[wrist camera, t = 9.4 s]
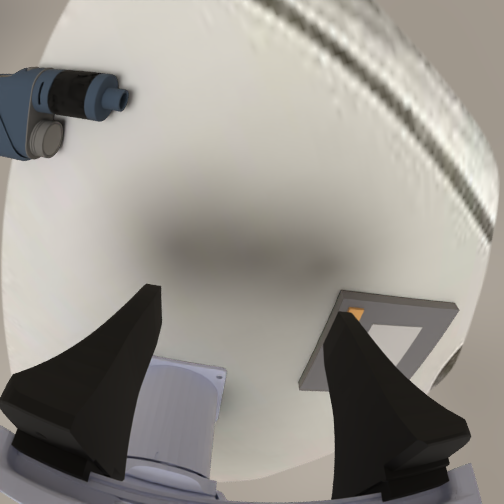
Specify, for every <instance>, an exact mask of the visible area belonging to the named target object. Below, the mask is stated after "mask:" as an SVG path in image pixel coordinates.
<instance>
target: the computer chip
mask: <svg viewBox="0 0 504 504" xmlns="http://www.w3.org/2000/svg"><path fill="white" fill-rule="evenodd" d="M338 311H341V312H351V313H352V314H353V315H354V316H355V317H356V318H357V320H358V321H359V322H360V323H361V325H362V326H363V327H364V329H365V330H366V331H367V332H368V334H369V335H370V336H371V338H372V339H373V340H374V341H375V343H376V344H377V345H378V346H379V348H380V349H381V350H382V351H383V353H384V354H385V355H386V356H387V357H388V358H389V359H390V361H391V362H392V363H393V364H394V365H395V366H396V367H397V368H398V369H399V370H400V371H401V372H402V373H403V374H404V375H405V376H406V377H407V378H408V379H410V378H411V377H412V376H413V375H414V373H415V372H416V371H417V370H418V368H419V367H420V366H421V364H422V363H423V362H424V360H425V359H426V358H427V357H428V355H429V354H430V353H431V351H432V350H433V348H434V347H435V346H436V344H437V343H438V341H439V340H440V339H441V337H442V336H443V334H444V333H445V331H446V330H447V328H448V327H449V325H450V324H451V322H452V321H453V319H454V318H455V316H456V315H457V313H458V311H459V309H458V307H457V306H456V304H455V303H447V302H438V301H428V300H419V299H410V298H401V297H392V296H384V295H375V294H367V293H359V292H351V291H343V290H341V292H340V294H339V297H338V299H337V301H336V304H335V306H334V308H333V311H332V313H331V315H330V317H329V320H328V322H327V324H326V326H325V329H324V331H323V333H322V335H321V337H320V339H319V342H318V344H317V346H316V348H315V350H314V352H313V354H312V356H311V358H310V360H309V363H308V365H307V367H306V369H305V371H304V373H303V375H302V377H301V379H300V381H299V390H302V391H329V388H328V383H327V378H326V372H325V367H324V355H323V343H324V341H325V339H326V337H327V335H328V333H329V331H330V328H331V326H332V324H333V322H334V320H335V318H336V315H337V313H338Z"/></svg>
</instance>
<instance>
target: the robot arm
mask: <svg viewBox="0 0 504 504" xmlns="http://www.w3.org/2000/svg"><path fill="white" fill-rule="evenodd" d="M161 325H162V308H161V286H157V285H151V284H145V285H144V286H143V287H142V288H141V289H140V290H139V291H138V292H137V293H136V294H135V295H134V296H133V297H132V298H131V299H130V300H129V301H128V302H127V303H126V304H125V305H124V306H123V307H122V308H121V309H120V310H119V311H117V312H116V313H115V314H114V315H113V316H112V317H111V318H110V319H109V320H107V321H106V322H105V323H104V324H103V325H101V326H100V327H99V328H98V329H97V330H95V331H94V332H93V333H91V334H90V335H89V336H87V337H86V338H85V339H83V340H82V341H80V342H79V343H77V344H76V345H74V346H73V347H71V348H69V349H68V350H66V351H64V352H63V353H61V354H59V355H58V356H56V357H54V358H52V359H50V360H48V361H46V362H43V363H41V364H39V365H37V366H34V367H32V368H29V369H27V370H24V371H21V372H19V373H16V374H13V375H12V377H11V378H10V380H9V382H8V383H7V385H6V388H5V389H4V391H3V393H2V395H1V397H0V409H1V410H2V412H3V413H4V414H5V415H6V417H7V418H8V419H9V420H10V421H11V422H12V423H13V424H14V425H15V426H16V427H17V431H16V434H14V433H12V432H11V431H9V430H8V429H6V428H5V427H3V426H1V425H0V492H2V493H3V494H5V495H6V496H8V497H10V498H11V499H13V500H14V501H16V502H18V503H19V504H482V501H481V497H480V493H479V489H478V486H477V482H476V478H475V475H474V472H473V468H472V464H471V463H468V464H465V465H463V466H460V467H457V468H454V469H452V470H450V471H448V472H447V470H446V466H448V465H449V459H448V457H450V456H451V455H452V454H454V453H455V452H456V451H458V450H459V449H460V448H462V447H463V446H464V445H466V443H467V442H468V441H469V440H470V438H471V434H470V431H469V428H468V426H467V423H466V421H465V419H463V418H462V417H460V416H458V415H456V414H454V413H453V412H451V411H449V410H447V409H446V408H444V407H443V406H441V405H440V404H438V403H437V402H435V401H434V400H433V399H431V398H430V397H429V396H427V395H426V394H425V393H424V392H422V391H421V390H420V389H419V388H418V387H416V386H415V385H414V384H413V383H412V382H411V381H410V380H409V379H408V378H407V377H406V376H405V375H404V374H403V373H402V372H401V371H400V370H399V369H398V368H397V367H396V366H395V365H394V364H393V363H392V362H391V361H390V359H389V358H388V357H387V356H386V355H385V354H384V353H383V351H382V350H381V349H380V348H379V346H378V345H377V344H376V343H375V341H374V340H373V339H372V338H371V336H370V335H369V334H368V332H367V331H366V330H365V329H364V327H363V326H362V325H361V323H360V322H359V321H358V320H357V318H356V317H355V316H354V315H353V314H352V313H351V312H341V311H338V313H337V315H336V318H335V320H334V322H333V324H332V326H331V328H330V331H329V333H328V335H327V337H326V339H325V341H324V343H323V355H324V367H325V372H326V378H327V383H328V388H329V393H330V398H331V404H332V409H333V417H334V434H335V465H334V481H333V491H332V498H331V500H324V501H311V502H294V503H293V502H289V503H258V502H238V501H227V499H226V497H225V496H224V494H223V493H222V492H220V491H217V490H216V484H217V481H214V480H210V468H211V457H212V447H213V437H214V427H215V421H217V420H218V416H219V410H220V405H221V400H222V395H223V390H224V384H225V379H226V374H227V370H226V369H225V368H222V367H216V366H209V365H203V364H197V363H191V362H185V361H179V360H174V359H168V358H163V357H158V356H153V353H154V350H155V348H156V345H157V341H158V337H159V333H160V329H161ZM218 375H220V376H218Z"/></svg>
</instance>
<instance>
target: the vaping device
mask: <svg viewBox="0 0 504 504" xmlns="http://www.w3.org/2000/svg"><path fill="white" fill-rule="evenodd" d="M128 97H129V93H128V91H127V90H123V89H118V81H117V78H116V76H115V75H112V74H105V73H96V72H85V71H73V70H57V69H53V68H39V67H29V68H24V69H22V70H20V71H18V72H16V73H15V74H0V156H3V157H8V158H12V159H17V160H21V161H27V160H31V159H37V158H39V157H45V158H51V157H53V156H54V155H55V154H56V153H57V151H58V149H59V147H60V145H61V142H62V138H63V127H62V125H61V123H60V122H58V121H53V118H54V114H56V115H63V116H69V117H76V118H82V119H88V120H93V121H99V122H100V121H103V120H105V119H106V118H107V117H108V116H109V114H110V113H111V111H112V110H114V111H120V112H121V111H123V110H124V108H125V107H126V105H127V102H128Z"/></svg>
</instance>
